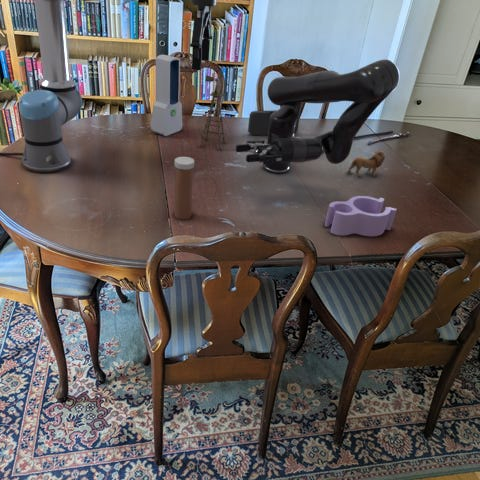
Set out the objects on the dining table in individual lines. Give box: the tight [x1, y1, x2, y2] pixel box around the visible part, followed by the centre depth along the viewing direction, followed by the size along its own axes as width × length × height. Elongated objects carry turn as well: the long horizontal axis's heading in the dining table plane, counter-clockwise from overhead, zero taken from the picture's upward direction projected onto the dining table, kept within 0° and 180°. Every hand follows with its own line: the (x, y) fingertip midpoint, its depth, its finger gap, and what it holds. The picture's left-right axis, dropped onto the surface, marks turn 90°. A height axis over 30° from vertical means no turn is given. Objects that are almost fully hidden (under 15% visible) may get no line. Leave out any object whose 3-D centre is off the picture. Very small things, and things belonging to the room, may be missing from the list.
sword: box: [367, 133, 409, 145], centre depth 213 cm, size 31×3×1 cm, turn 126°
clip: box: [324, 195, 398, 237], centre depth 141 cm, size 20×12×7 cm, turn 109°
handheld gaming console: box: [247, 110, 301, 136], centre depth 202 cm, size 23×3×10 cm, turn 108°
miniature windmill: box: [199, 67, 226, 150], centre depth 180 cm, size 9×8×30 cm
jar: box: [174, 167, 194, 220], centre depth 134 cm, size 5×5×17 cm
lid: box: [173, 156, 195, 170], centre depth 130 cm, size 6×6×2 cm
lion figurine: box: [346, 150, 386, 178], centre depth 174 cm, size 15×5×9 cm, turn 110°
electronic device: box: [149, 54, 183, 137], centre depth 188 cm, size 12×8×30 cm, turn 148°
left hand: (200, 65), depth 149 cm, fingers open, 13 cm apart
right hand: (241, 153), depth 140 cm, fingers open, 8 cm apart
